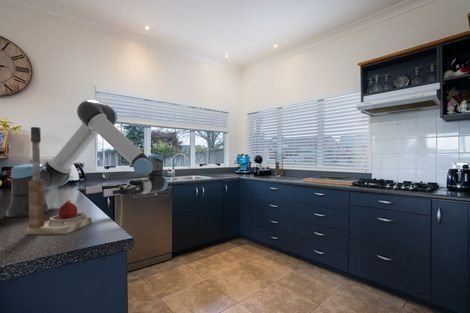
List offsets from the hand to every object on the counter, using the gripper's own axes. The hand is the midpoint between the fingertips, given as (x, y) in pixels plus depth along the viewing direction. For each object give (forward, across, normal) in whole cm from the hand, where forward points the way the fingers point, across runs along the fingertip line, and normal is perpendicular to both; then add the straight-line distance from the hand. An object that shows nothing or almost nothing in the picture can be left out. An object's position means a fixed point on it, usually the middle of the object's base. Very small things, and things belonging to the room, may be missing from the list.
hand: (94, 191), depth 100 cm
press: (+12, +1, -12) cm, 17 cm away
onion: (+10, 0, -10) cm, 14 cm away
